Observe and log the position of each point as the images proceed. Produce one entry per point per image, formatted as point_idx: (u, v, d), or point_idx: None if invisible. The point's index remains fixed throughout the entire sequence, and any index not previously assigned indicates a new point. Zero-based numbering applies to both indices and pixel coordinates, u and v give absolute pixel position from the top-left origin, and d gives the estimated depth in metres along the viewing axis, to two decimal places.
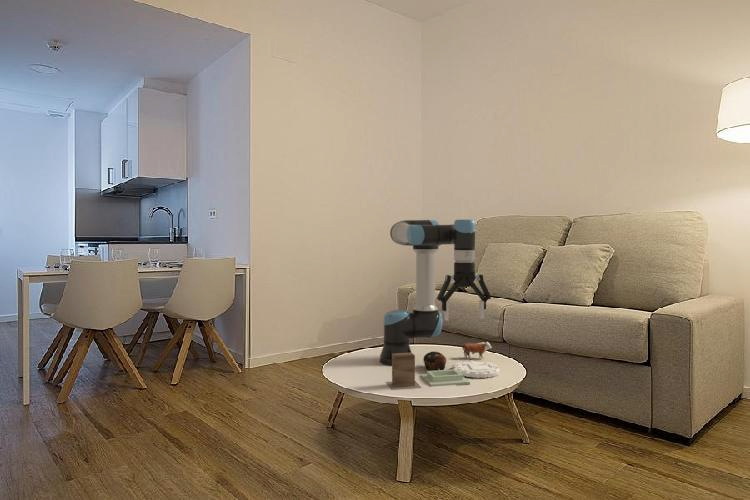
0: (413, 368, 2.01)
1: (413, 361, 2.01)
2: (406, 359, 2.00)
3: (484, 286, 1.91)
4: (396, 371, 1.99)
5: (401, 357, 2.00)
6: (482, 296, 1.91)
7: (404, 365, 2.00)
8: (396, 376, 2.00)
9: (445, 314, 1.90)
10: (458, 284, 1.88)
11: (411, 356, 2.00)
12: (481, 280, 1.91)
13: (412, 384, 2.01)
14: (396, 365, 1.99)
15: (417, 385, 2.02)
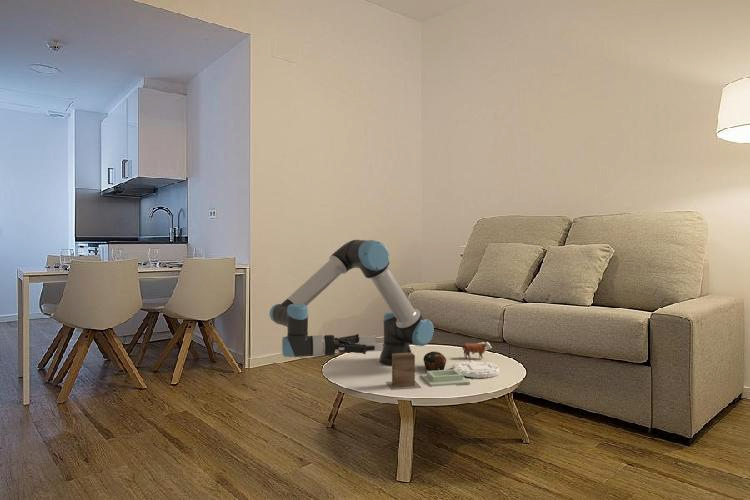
0: (413, 368, 2.01)
1: (413, 361, 2.01)
2: (406, 359, 2.00)
3: None
4: (396, 371, 1.99)
5: (401, 357, 2.00)
6: None
7: (404, 365, 2.00)
8: (396, 376, 2.00)
9: None
10: None
11: (411, 356, 2.00)
12: None
13: (412, 384, 2.01)
14: (396, 365, 1.99)
15: (417, 385, 2.02)
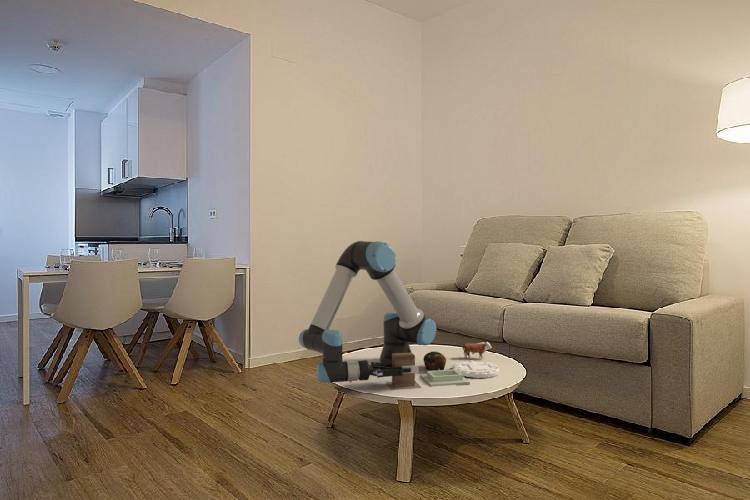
0: None
1: (413, 361, 2.01)
2: (406, 359, 2.00)
3: None
4: None
5: (401, 357, 2.00)
6: None
7: (404, 365, 2.00)
8: (396, 376, 2.00)
9: None
10: None
11: (411, 356, 2.00)
12: None
13: (412, 384, 2.01)
14: (396, 365, 1.99)
15: (417, 385, 2.02)
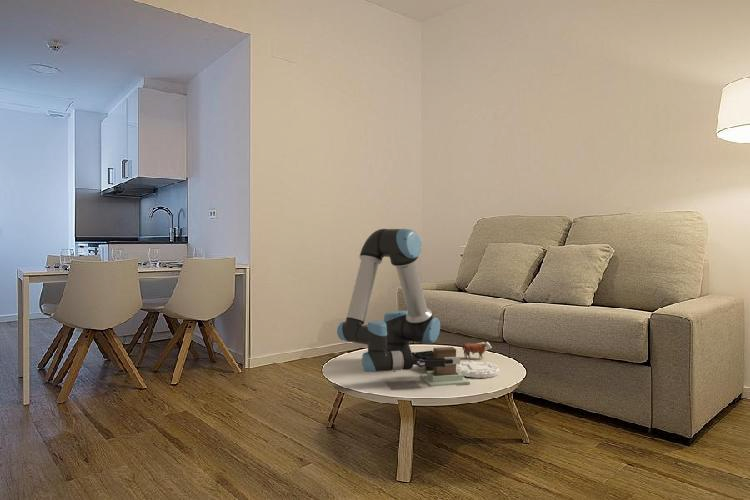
0: None
1: (454, 355, 2.07)
2: (447, 353, 2.06)
3: None
4: None
5: (443, 351, 2.06)
6: None
7: None
8: (438, 369, 2.06)
9: None
10: None
11: (452, 350, 2.07)
12: None
13: None
14: None
15: (417, 385, 2.02)
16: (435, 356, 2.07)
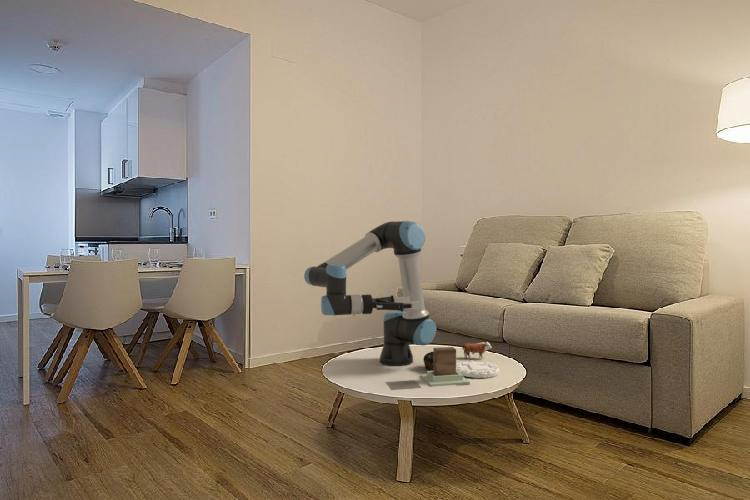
0: (454, 362, 2.07)
1: (454, 355, 2.07)
2: (447, 353, 2.06)
3: None
4: (438, 364, 2.06)
5: (443, 351, 2.06)
6: None
7: (446, 359, 2.06)
8: (438, 369, 2.06)
9: None
10: None
11: (452, 350, 2.07)
12: None
13: None
14: (438, 359, 2.06)
15: (417, 385, 2.02)
16: (435, 356, 2.07)
